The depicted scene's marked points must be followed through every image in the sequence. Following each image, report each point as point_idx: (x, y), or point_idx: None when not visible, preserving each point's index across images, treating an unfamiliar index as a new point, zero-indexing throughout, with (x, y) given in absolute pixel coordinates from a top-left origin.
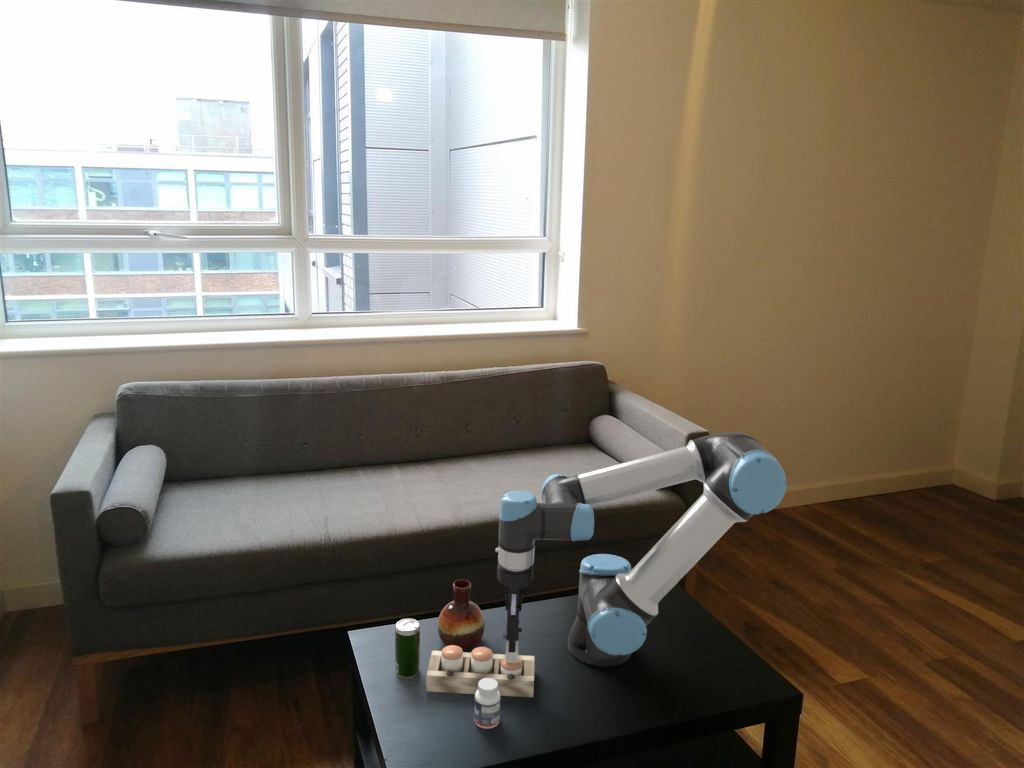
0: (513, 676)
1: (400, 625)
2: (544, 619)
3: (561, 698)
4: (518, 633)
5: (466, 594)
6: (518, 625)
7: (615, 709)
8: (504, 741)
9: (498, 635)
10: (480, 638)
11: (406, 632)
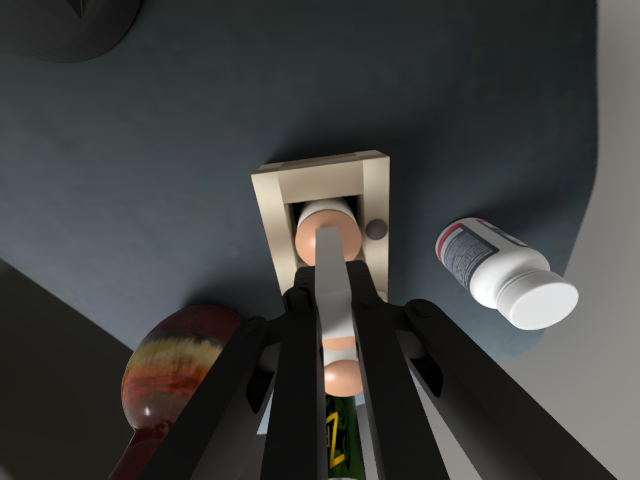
0: (376, 223)
1: None
2: None
3: (370, 54)
4: (316, 295)
5: None
6: (589, 453)
7: None
8: (535, 195)
9: (152, 270)
10: (210, 313)
11: None
